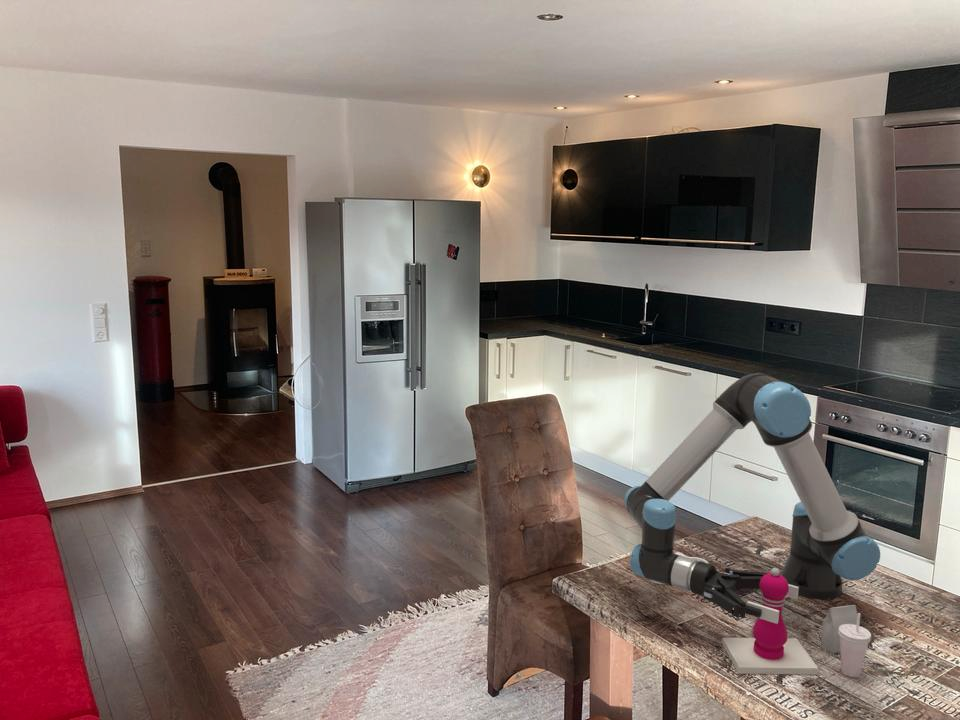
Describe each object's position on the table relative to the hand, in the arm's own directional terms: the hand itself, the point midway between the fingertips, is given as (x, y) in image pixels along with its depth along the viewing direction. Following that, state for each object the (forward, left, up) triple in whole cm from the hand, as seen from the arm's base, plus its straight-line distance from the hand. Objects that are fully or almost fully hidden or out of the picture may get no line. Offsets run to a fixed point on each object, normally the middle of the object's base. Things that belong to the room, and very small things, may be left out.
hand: (788, 604), depth 169 cm
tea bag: (-15, -7, -14) cm, 22 cm away
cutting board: (+3, -2, -14) cm, 14 cm away
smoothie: (-13, +3, -14) cm, 20 cm away
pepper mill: (+3, -2, -13) cm, 13 cm away
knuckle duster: (+13, -44, -15) cm, 48 cm away
